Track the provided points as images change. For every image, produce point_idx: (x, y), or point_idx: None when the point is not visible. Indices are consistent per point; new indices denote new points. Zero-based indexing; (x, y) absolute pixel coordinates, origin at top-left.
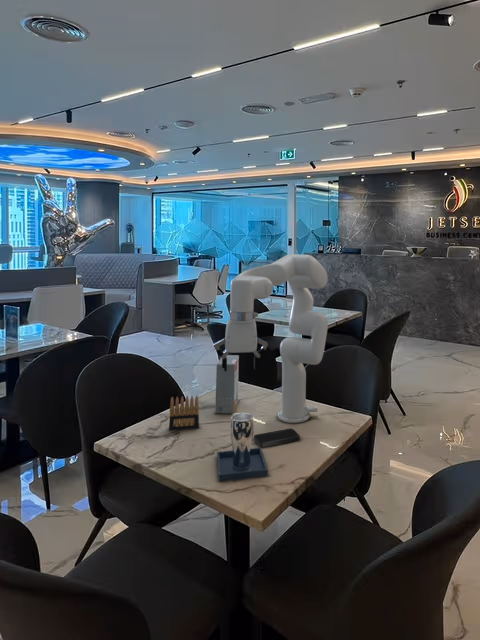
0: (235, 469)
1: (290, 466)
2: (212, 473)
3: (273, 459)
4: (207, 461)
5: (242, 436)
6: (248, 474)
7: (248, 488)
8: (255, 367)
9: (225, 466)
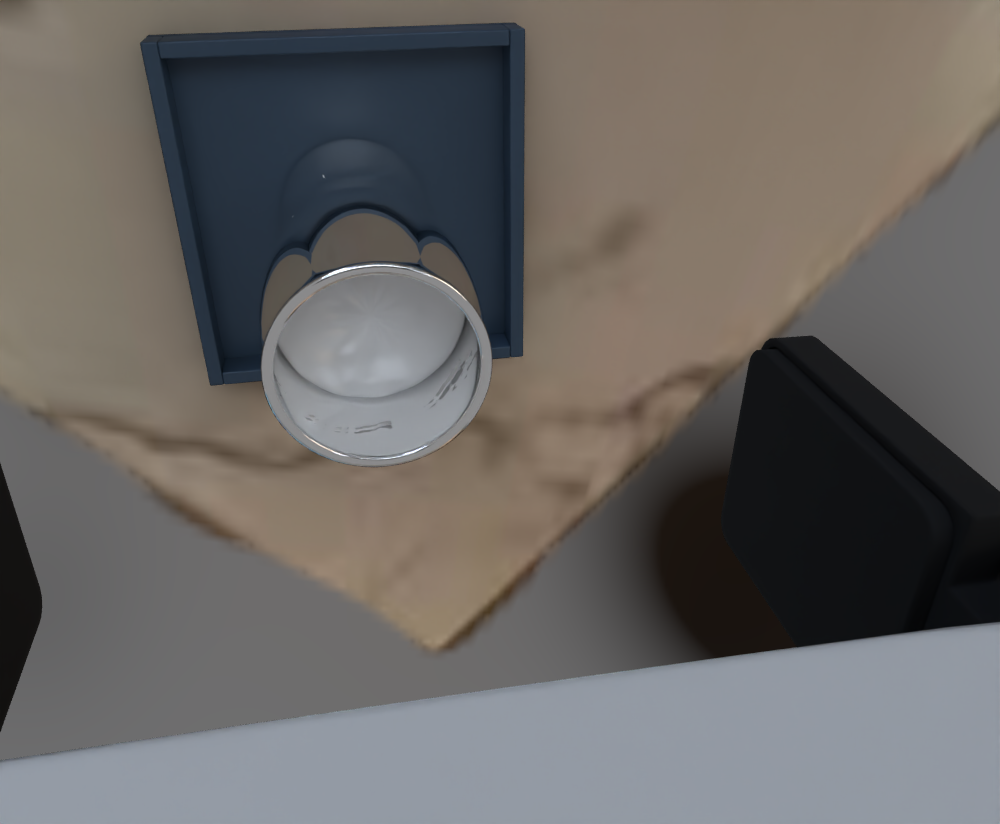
0: None
1: (674, 248)
2: (151, 267)
3: (590, 137)
4: (73, 83)
5: (372, 398)
6: None
7: None
8: (758, 575)
9: (237, 209)
